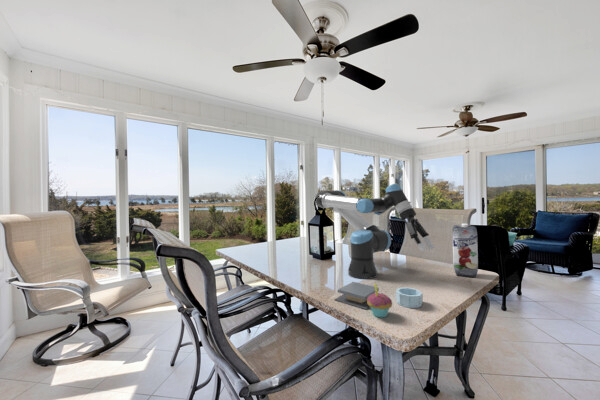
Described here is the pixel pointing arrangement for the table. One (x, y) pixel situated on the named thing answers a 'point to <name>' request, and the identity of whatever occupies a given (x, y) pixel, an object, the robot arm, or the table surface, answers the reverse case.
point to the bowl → (409, 297)
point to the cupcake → (379, 303)
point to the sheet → (358, 290)
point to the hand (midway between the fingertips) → (427, 249)
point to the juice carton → (465, 250)
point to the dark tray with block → (353, 301)
